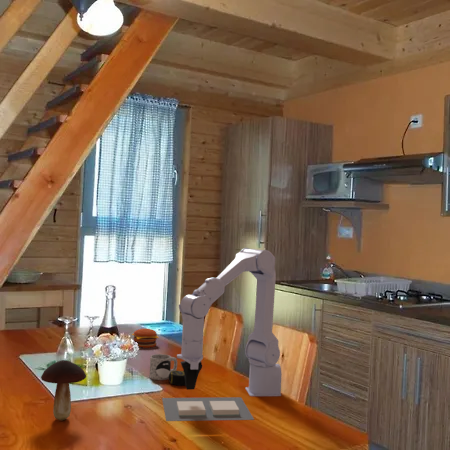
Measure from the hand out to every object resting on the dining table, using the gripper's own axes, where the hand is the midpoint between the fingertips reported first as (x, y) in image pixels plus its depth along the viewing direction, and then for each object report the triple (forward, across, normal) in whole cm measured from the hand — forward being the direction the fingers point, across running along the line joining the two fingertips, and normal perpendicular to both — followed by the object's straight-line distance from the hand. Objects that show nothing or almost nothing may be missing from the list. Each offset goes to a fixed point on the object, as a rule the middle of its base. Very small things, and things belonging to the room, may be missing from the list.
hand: (190, 388), depth 157 cm
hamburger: (+6, -74, -10) cm, 75 cm away
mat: (+6, +1, +4) cm, 7 cm away
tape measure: (+6, -23, 0) cm, 24 cm away
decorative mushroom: (+6, +7, -33) cm, 34 cm away
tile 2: (+4, 0, 0) cm, 4 cm away
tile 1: (+4, 0, +9) cm, 10 cm away
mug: (+6, -31, -5) cm, 32 cm away
